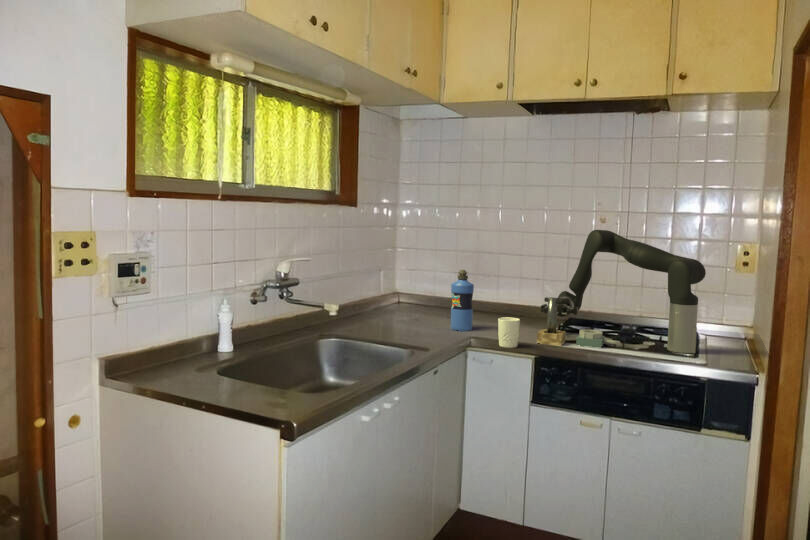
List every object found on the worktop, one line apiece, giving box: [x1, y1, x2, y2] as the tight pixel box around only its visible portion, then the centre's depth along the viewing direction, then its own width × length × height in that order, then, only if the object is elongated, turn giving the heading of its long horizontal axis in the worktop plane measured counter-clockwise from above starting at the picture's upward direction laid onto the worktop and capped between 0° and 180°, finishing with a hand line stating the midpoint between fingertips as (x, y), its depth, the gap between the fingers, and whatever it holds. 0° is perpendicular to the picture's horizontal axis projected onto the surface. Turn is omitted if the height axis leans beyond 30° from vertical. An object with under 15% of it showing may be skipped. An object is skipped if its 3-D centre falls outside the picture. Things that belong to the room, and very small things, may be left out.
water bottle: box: [450, 269, 475, 332], centre depth 253 cm, size 9×9×25 cm
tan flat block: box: [536, 328, 567, 346], centre depth 230 cm, size 9×9×4 cm
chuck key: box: [543, 297, 561, 334], centre depth 230 cm, size 6×3×16 cm, turn 66°
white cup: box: [497, 316, 521, 349], centre depth 223 cm, size 8×8×10 cm
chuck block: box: [575, 329, 621, 348], centre depth 226 cm, size 15×9×5 cm, turn 66°
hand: (556, 311), depth 238 cm, fingers open, 8 cm apart
